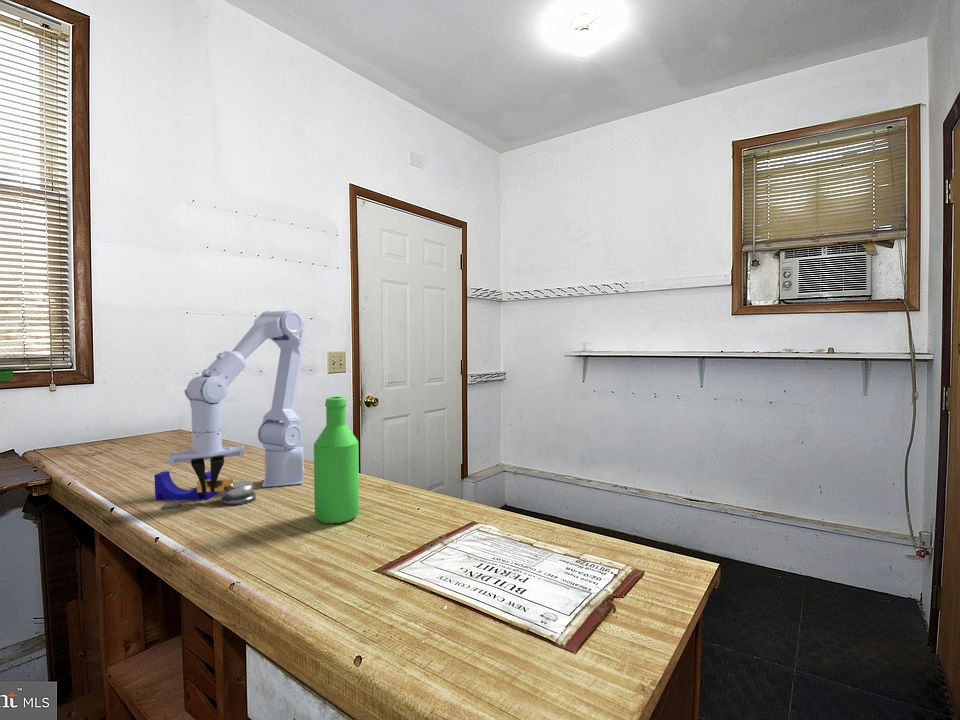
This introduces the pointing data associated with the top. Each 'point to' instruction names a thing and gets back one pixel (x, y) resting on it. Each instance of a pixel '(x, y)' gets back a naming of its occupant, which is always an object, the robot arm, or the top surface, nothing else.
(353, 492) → the bottle
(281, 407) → the robot arm
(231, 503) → the dial housing
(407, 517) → the top surface
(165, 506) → the grey block
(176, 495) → the cable clip
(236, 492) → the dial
